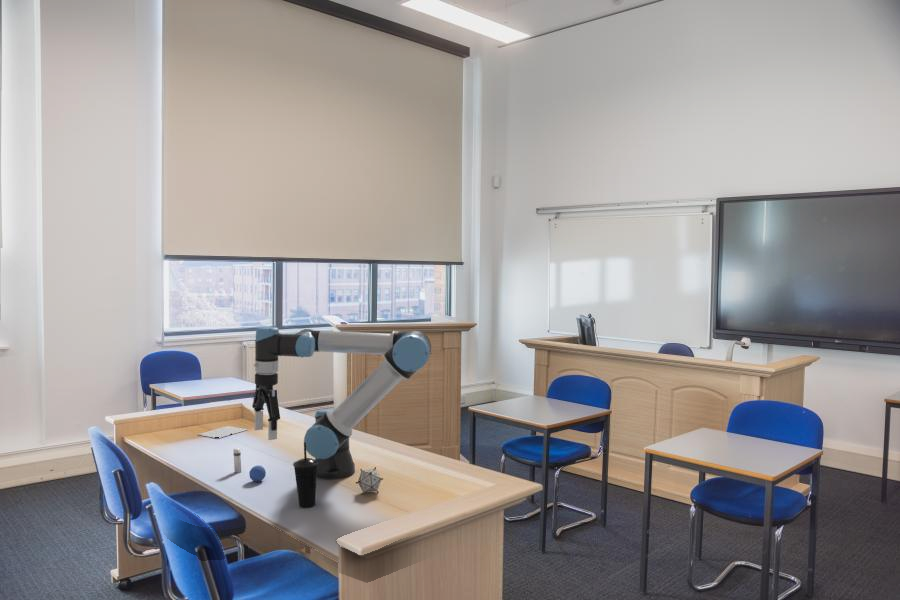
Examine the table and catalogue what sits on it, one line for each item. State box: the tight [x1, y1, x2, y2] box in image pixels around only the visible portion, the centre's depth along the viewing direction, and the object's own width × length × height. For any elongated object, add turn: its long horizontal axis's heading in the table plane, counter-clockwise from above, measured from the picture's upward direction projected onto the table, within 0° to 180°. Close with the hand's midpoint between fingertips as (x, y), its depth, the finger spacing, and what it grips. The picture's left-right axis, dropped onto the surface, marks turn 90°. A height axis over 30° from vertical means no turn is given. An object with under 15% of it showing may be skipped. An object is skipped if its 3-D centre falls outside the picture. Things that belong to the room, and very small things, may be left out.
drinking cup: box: [292, 442, 318, 509], centre depth 209 cm, size 8×8×20 cm
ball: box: [249, 465, 267, 483], centre depth 233 cm, size 6×6×6 cm
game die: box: [355, 466, 384, 496], centre depth 220 cm, size 9×8×10 cm
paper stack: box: [198, 425, 248, 439], centre depth 295 cm, size 23×25×1 cm
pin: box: [233, 447, 242, 474], centre depth 244 cm, size 2×2×8 cm
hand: (265, 434), depth 227 cm, fingers open, 13 cm apart
